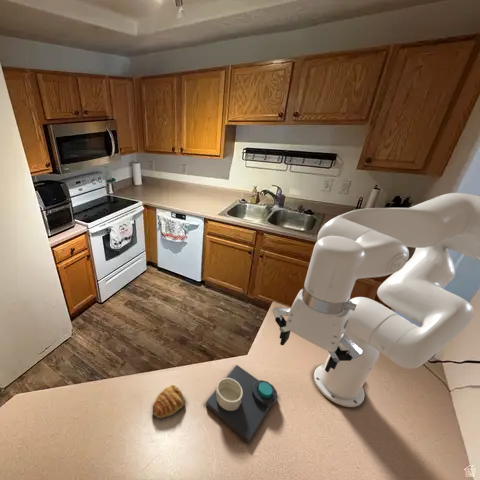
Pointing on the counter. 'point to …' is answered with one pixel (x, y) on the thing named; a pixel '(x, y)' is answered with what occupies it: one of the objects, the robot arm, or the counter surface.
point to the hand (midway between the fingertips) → (305, 353)
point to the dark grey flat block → (244, 405)
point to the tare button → (265, 390)
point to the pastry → (168, 402)
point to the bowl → (229, 394)
